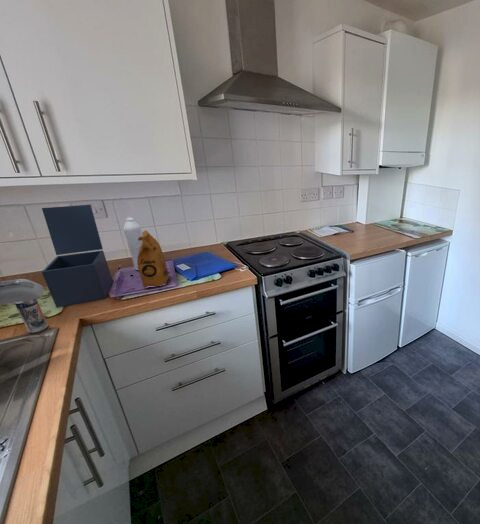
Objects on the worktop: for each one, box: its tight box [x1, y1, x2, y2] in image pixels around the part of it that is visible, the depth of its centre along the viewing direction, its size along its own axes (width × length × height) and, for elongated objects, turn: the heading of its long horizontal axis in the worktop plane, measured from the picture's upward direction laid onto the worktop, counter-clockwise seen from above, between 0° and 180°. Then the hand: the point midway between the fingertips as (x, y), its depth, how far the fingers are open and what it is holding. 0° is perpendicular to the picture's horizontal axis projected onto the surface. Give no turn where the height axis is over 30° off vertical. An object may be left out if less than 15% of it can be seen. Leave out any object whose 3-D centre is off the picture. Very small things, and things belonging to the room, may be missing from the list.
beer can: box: [14, 299, 49, 334], centre depth 94 cm, size 5×5×12 cm
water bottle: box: [123, 216, 143, 270], centre depth 138 cm, size 9×6×25 cm
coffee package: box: [137, 229, 170, 288], centre depth 125 cm, size 10×12×22 cm
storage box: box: [41, 249, 114, 308], centre depth 117 cm, size 18×15×14 cm
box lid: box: [41, 204, 104, 256], centre depth 121 cm, size 18×15×4 cm
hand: (7, 304), depth 85 cm, fingers open, 8 cm apart
